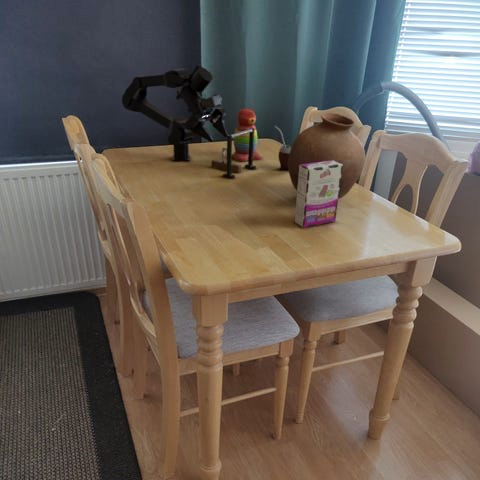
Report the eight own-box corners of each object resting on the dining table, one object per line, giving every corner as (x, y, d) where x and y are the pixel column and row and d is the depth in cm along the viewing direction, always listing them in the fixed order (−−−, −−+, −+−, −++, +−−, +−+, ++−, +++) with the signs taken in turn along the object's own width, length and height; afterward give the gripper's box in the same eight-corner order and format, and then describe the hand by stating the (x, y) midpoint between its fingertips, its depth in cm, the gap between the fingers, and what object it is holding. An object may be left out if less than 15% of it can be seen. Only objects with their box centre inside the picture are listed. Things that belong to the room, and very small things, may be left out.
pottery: (283, 185, 163) (290, 105, 149) (351, 188, 162) (364, 108, 148) (286, 209, 144) (294, 121, 130) (363, 212, 144) (380, 124, 130)
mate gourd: (300, 170, 178) (304, 127, 169) (283, 173, 174) (287, 129, 165) (287, 165, 183) (291, 123, 174) (271, 168, 179) (274, 125, 170)
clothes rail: (222, 176, 168) (223, 134, 160) (246, 166, 179) (248, 127, 171) (232, 179, 166) (233, 136, 158) (255, 168, 177) (257, 128, 169)
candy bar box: (325, 216, 140) (332, 159, 131) (335, 222, 136) (344, 164, 127) (292, 222, 136) (298, 163, 127) (302, 228, 132) (309, 168, 123)
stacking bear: (239, 162, 184) (241, 112, 174) (227, 155, 191) (228, 107, 181) (263, 159, 188) (266, 110, 178) (250, 152, 196) (252, 105, 186)
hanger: (211, 167, 177) (211, 145, 173) (214, 165, 179) (214, 144, 174) (238, 173, 172) (238, 151, 168) (240, 172, 173) (241, 150, 169)
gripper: (190, 88, 158) (217, 128, 159) (222, 82, 171) (247, 120, 172) (172, 111, 165) (198, 149, 167) (205, 104, 179) (229, 139, 180)
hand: (219, 138), depth 171 cm, fingers open, 9 cm apart
